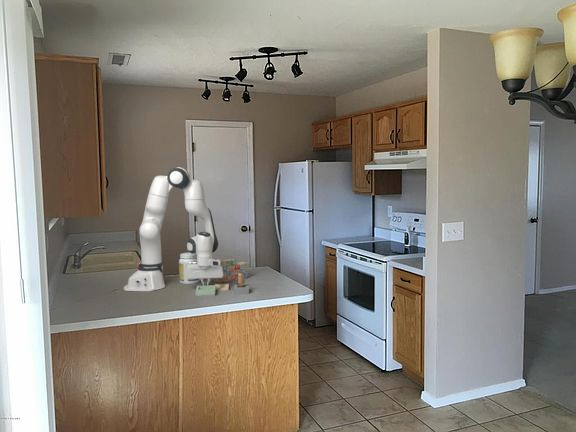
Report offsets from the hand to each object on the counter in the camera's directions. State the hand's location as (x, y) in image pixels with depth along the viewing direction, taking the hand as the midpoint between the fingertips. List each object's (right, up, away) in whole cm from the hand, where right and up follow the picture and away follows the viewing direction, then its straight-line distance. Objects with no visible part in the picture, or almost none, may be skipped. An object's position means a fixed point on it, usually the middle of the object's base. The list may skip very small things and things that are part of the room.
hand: (205, 286), depth 272 cm
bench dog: (+19, -2, +2) cm, 19 cm away
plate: (+9, -2, +1) cm, 9 cm away
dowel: (+20, -2, -6) cm, 21 cm away
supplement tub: (-12, 0, +17) cm, 21 cm away
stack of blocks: (+11, 0, +24) cm, 27 cm away
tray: (+2, -3, -9) cm, 9 cm away
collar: (+20, -2, -6) cm, 21 cm away
